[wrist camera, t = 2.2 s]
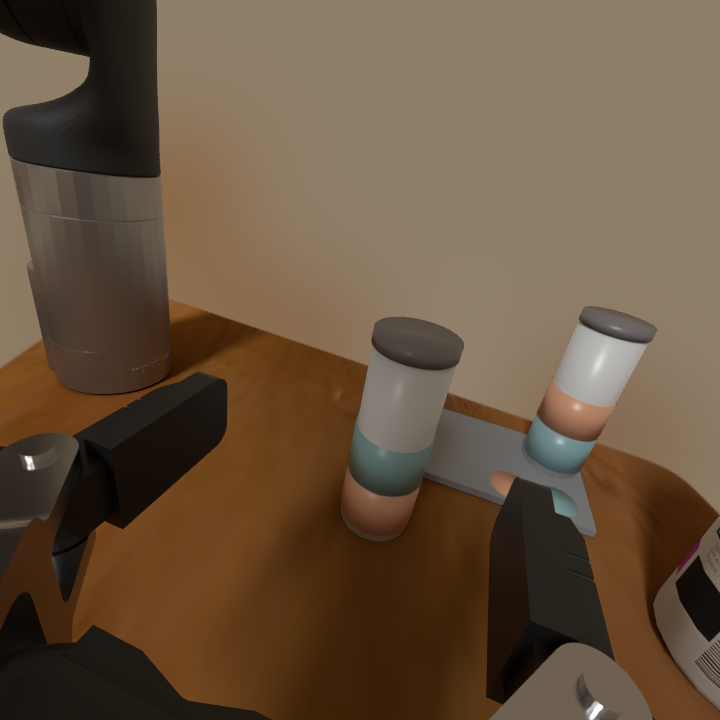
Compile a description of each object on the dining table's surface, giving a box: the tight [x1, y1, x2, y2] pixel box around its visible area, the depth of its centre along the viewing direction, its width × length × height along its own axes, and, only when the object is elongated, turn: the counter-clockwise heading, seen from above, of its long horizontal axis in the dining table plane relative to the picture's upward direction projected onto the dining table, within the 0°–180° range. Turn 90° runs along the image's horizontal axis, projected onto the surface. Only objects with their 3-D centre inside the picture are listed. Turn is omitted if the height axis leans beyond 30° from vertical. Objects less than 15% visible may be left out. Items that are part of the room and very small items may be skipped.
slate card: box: [423, 409, 597, 537], centre depth 33 cm, size 14×10×1 cm
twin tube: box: [522, 306, 657, 479], centre depth 31 cm, size 5×5×13 cm
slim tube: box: [340, 317, 464, 541], centre depth 24 cm, size 5×5×13 cm
